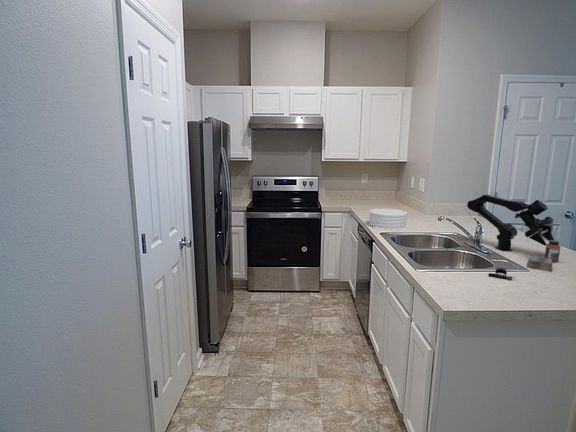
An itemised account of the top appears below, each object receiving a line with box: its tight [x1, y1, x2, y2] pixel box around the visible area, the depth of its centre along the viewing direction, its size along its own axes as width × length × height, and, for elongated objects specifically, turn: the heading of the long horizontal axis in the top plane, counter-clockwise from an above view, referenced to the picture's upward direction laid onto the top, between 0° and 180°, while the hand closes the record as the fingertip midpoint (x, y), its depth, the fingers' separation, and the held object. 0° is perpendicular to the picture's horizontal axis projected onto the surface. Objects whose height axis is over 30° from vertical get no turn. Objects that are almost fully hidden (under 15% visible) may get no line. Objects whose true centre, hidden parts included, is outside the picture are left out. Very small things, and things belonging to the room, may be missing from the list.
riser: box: [526, 255, 554, 273], centre depth 168 cm, size 10×10×4 cm
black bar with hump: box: [488, 266, 513, 282], centre depth 155 cm, size 12×7×5 cm, turn 57°
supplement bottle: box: [543, 239, 561, 263], centre depth 176 cm, size 6×6×11 cm
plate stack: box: [368, 207, 408, 230], centre depth 258 cm, size 28×28×12 cm
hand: (550, 244), depth 177 cm, fingers open, 9 cm apart
